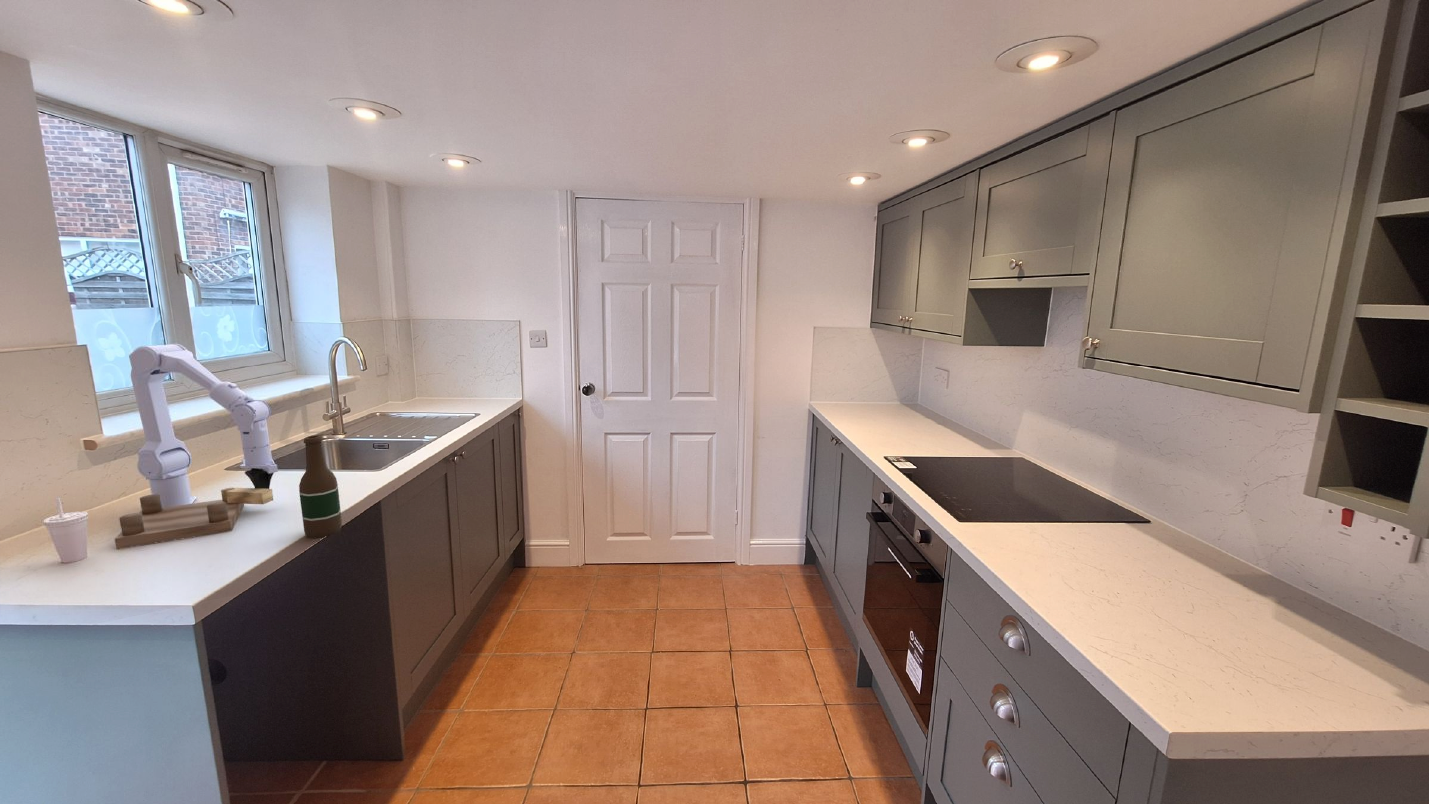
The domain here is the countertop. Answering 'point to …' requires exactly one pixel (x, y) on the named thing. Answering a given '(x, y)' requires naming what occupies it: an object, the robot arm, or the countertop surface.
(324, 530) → the beer bottle
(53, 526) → the smoothie
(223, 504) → the stool seat
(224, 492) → the oak leg
